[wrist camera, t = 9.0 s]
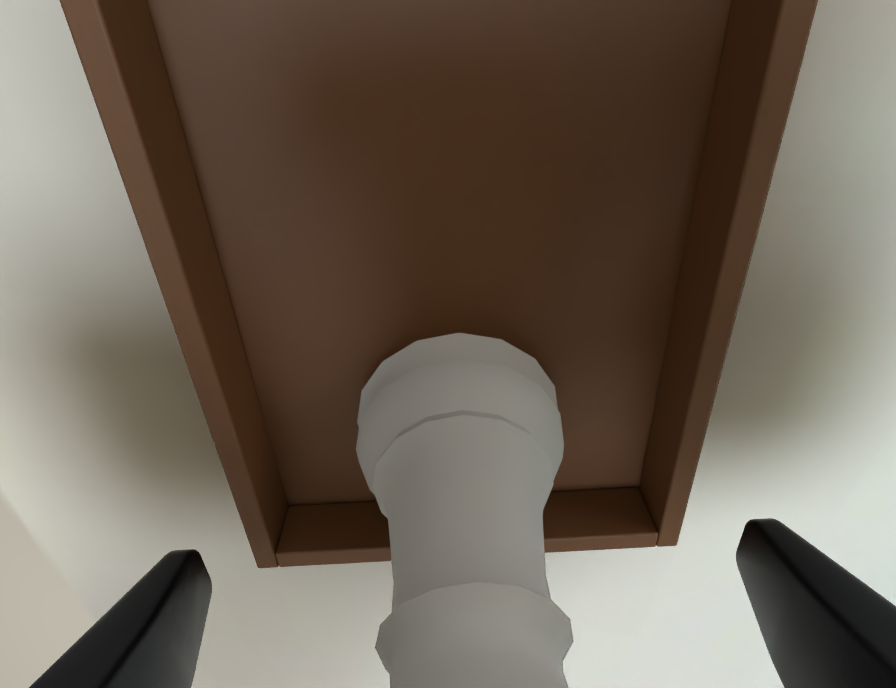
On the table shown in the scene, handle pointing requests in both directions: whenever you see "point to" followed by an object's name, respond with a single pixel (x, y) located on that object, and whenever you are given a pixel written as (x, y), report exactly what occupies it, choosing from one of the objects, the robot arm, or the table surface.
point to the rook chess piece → (465, 513)
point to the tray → (447, 225)
